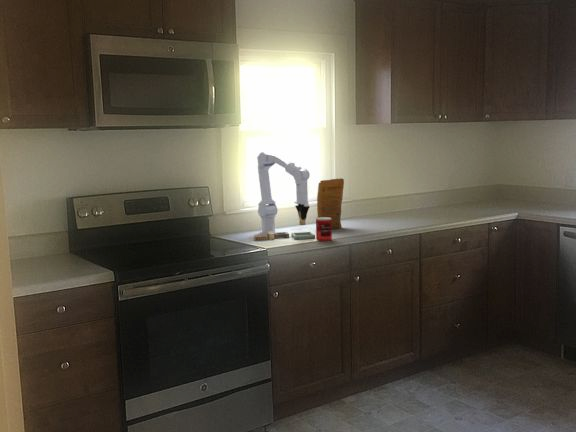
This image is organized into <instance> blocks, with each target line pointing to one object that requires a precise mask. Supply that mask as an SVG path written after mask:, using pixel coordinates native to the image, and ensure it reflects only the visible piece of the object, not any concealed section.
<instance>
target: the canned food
mask: <svg viewBox="0 0 576 432" xmlns="http://www.w3.org/2000/svg"><path fill="white" fill-rule="evenodd" d="M315 229H316V230H315V234H316V235H315V239H316V241H318V242H330V241H332V239H333V231H332V230H333V229H332V219H331V218H329V217H320V218H317V217H316V218H315Z"/></svg>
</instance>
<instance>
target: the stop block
mask: <svg viewBox="0 0 576 432" xmlns="http://www.w3.org/2000/svg"><path fill="white" fill-rule="evenodd" d="M267 239H268V240H270V241H271V240H275V237H274V233H273V232H268V234H267Z"/></svg>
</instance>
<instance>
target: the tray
mask: <svg viewBox="0 0 576 432" xmlns="http://www.w3.org/2000/svg"><path fill="white" fill-rule="evenodd" d="M291 237H292V238H293V239H294V240H315V239H316V235H315V233H313V232H311V231H303V232H302V231H301V232H291Z"/></svg>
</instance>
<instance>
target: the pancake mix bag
mask: <svg viewBox="0 0 576 432" xmlns="http://www.w3.org/2000/svg"><path fill="white" fill-rule="evenodd" d="M344 183H345V179H344V178H333V179H331V178H330V179H322V180H319V182H318V186H317V193H316V194H317V197H316V207H317V208H316V211H317V214H316V215H317V217H316V218H320V217H329V218H331V219H332V230H335V229H336V228H338V229H341V228H342V222H341V221H342V220H341V218H342V202H343V196H344V195H343V193H344V189H345V188H344V187H345V185H344Z"/></svg>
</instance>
